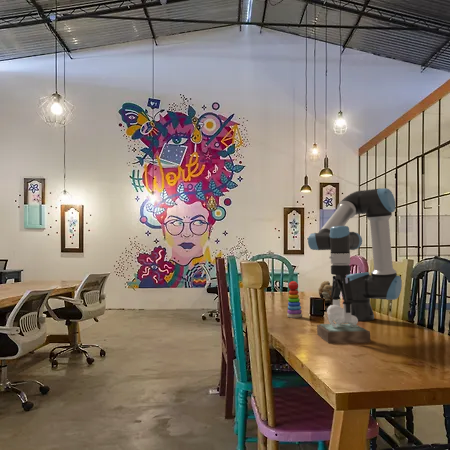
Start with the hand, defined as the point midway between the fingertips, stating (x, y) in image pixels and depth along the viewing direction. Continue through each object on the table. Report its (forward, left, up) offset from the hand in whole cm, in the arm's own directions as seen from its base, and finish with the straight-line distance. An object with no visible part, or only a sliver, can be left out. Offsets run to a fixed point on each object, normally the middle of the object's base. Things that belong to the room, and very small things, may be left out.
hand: (342, 318), depth 163 cm
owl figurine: (-17, -78, -8) cm, 80 cm away
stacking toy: (+8, -54, -8) cm, 55 cm away
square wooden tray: (0, 0, -8) cm, 8 cm away
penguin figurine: (0, 0, -4) cm, 4 cm away
